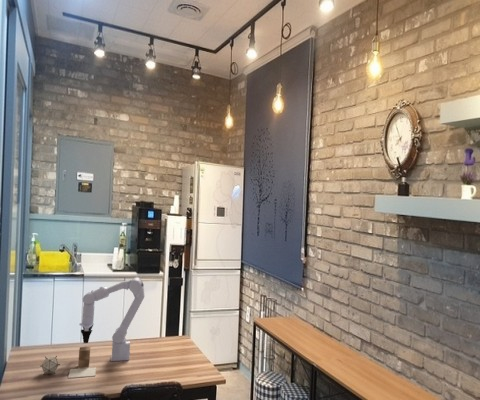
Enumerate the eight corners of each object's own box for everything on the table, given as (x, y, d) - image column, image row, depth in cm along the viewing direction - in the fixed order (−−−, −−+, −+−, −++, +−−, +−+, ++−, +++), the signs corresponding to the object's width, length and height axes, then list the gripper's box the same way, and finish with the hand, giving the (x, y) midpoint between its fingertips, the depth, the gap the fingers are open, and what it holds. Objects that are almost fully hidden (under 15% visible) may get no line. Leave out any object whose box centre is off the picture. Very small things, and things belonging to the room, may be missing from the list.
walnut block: (89, 364, 204) (90, 346, 204) (88, 368, 199) (89, 350, 199) (79, 364, 202) (80, 347, 203) (78, 368, 198) (79, 350, 198)
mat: (96, 368, 199) (96, 367, 199) (94, 376, 190) (95, 375, 190) (70, 370, 196) (70, 369, 196) (68, 378, 186) (68, 377, 186)
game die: (50, 382, 189) (49, 371, 183) (36, 374, 191) (35, 362, 185) (64, 368, 196) (63, 356, 191) (50, 359, 198) (49, 348, 192)
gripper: (81, 311, 218) (79, 336, 217) (79, 319, 204) (77, 345, 203) (94, 311, 220) (93, 336, 219) (93, 318, 206) (91, 344, 205)
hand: (86, 340), depth 211 cm, fingers open, 7 cm apart
